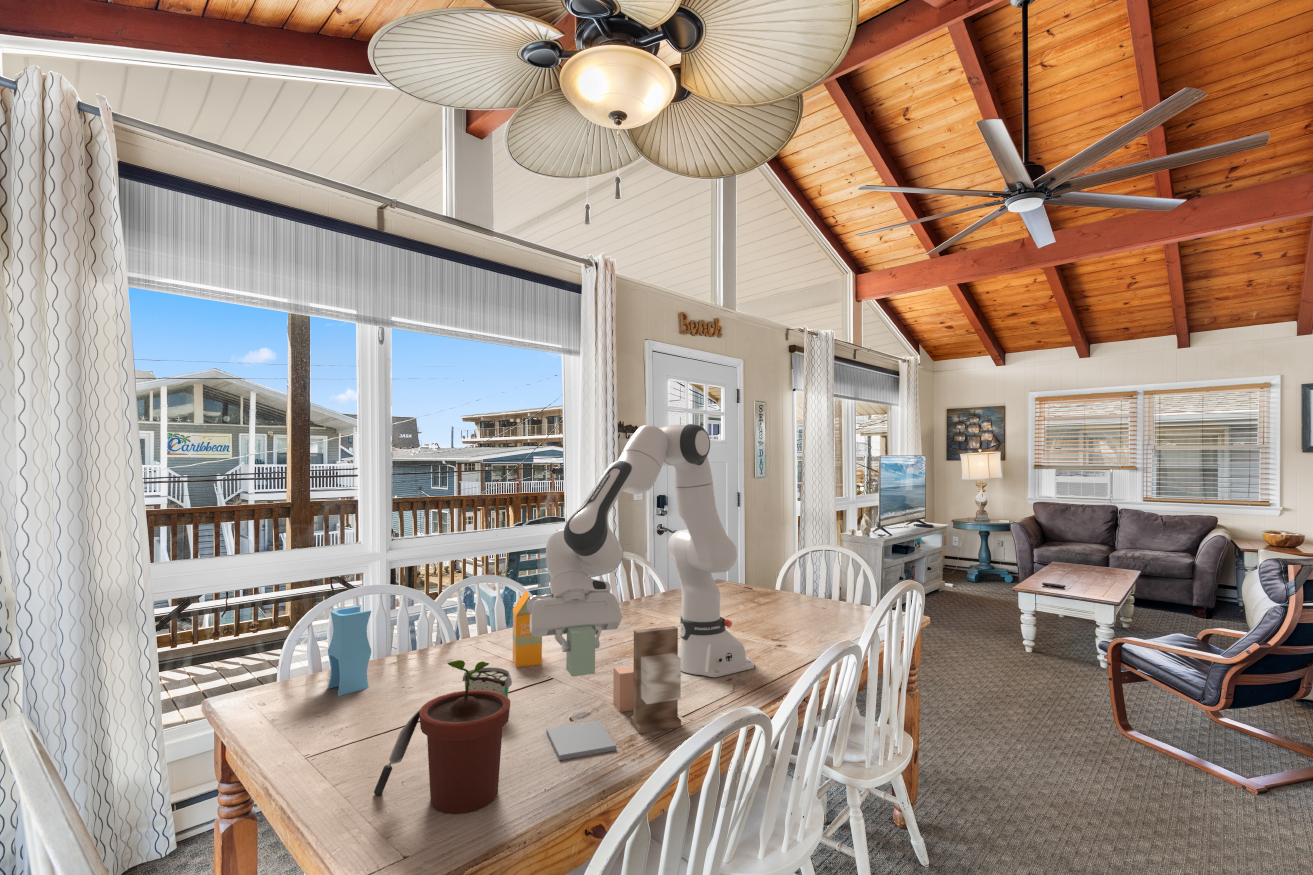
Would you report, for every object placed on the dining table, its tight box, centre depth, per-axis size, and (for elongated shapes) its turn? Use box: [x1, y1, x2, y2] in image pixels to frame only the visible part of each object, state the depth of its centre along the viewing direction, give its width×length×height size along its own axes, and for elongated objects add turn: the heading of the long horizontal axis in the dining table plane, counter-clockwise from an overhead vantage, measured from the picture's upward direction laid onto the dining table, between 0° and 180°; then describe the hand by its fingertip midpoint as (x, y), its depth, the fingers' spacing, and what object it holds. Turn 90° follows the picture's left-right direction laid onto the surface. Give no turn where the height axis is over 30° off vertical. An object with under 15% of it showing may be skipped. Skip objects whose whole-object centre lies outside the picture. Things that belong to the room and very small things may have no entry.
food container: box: [462, 667, 513, 698], centre depth 147 cm, size 12×6×10 cm, turn 71°
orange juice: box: [512, 590, 543, 668], centre depth 185 cm, size 8×9×20 cm
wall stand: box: [629, 625, 682, 735], centre depth 141 cm, size 10×8×22 cm
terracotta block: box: [612, 664, 634, 713], centre depth 152 cm, size 5×5×9 cm
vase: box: [327, 605, 372, 697], centre depth 163 cm, size 8×8×20 cm
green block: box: [565, 626, 596, 677], centre depth 134 cm, size 5×5×9 cm
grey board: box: [546, 719, 617, 761], centre depth 133 cm, size 12×13×1 cm
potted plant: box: [373, 659, 511, 815], centre depth 114 cm, size 18×22×25 cm
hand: (581, 648), depth 133 cm, fingers closed on green block, 5 cm apart
